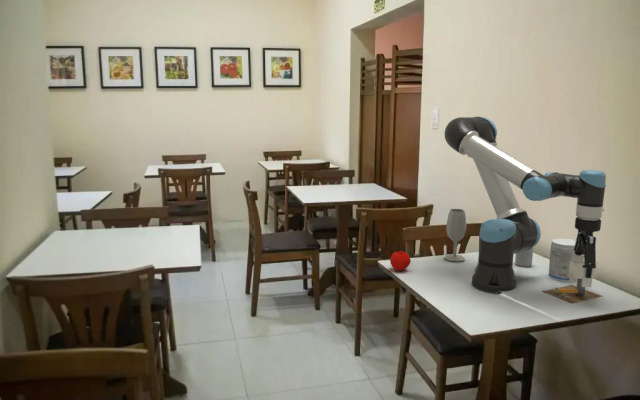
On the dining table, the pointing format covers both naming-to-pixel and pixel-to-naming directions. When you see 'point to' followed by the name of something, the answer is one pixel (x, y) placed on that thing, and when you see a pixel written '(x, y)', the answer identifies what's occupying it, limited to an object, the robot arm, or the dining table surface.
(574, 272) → the beige block on post
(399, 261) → the apple
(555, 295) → the base
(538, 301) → the dining table surface
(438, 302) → the dining table surface
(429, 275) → the dining table surface
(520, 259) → the beverage can
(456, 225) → the wineglass
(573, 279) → the supplement tub
